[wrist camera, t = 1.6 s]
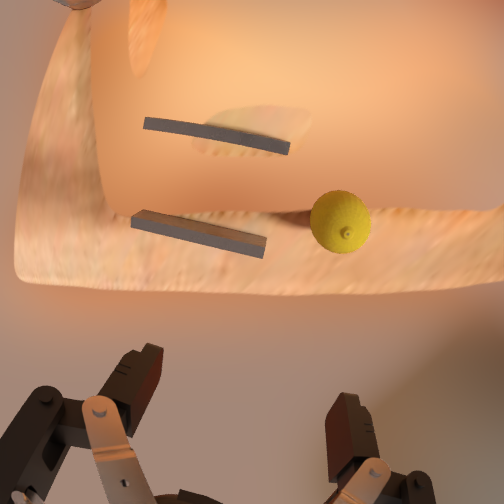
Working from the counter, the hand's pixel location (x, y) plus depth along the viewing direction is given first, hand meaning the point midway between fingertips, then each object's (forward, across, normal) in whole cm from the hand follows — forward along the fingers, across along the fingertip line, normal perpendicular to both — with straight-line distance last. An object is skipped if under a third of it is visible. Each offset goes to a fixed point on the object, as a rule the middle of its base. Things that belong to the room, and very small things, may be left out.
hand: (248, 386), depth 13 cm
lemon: (+22, -5, -4) cm, 23 cm away
